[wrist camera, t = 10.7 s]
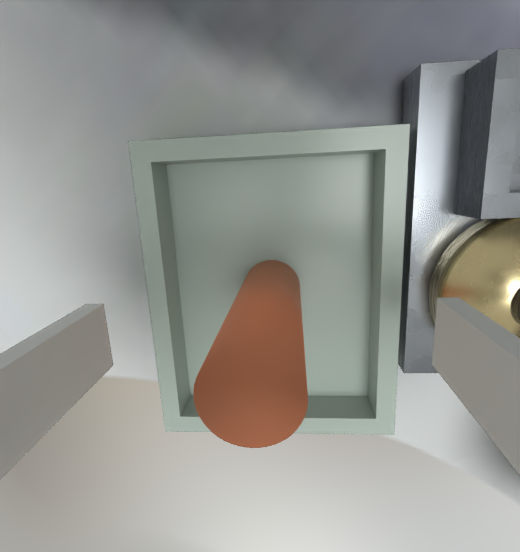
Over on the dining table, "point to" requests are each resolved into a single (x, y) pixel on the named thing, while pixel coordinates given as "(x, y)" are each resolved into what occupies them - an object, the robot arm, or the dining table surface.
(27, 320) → the dining table surface
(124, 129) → the dining table surface
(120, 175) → the dining table surface
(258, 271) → the pin
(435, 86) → the pulley block
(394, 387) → the tray
